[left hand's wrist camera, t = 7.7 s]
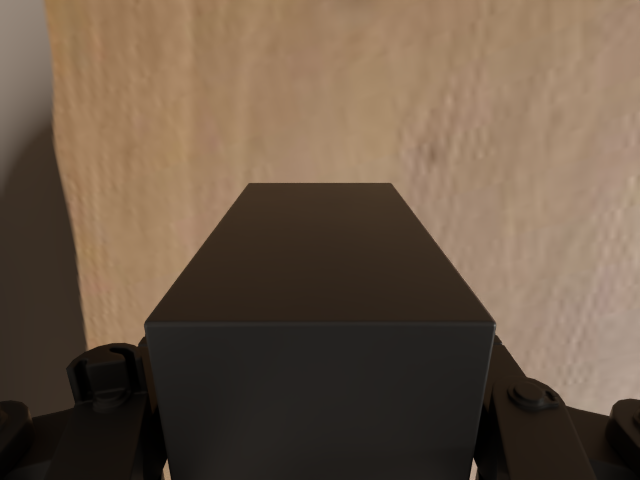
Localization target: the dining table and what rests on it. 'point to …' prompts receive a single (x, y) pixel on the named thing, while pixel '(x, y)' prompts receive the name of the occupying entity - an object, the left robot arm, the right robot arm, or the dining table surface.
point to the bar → (320, 344)
